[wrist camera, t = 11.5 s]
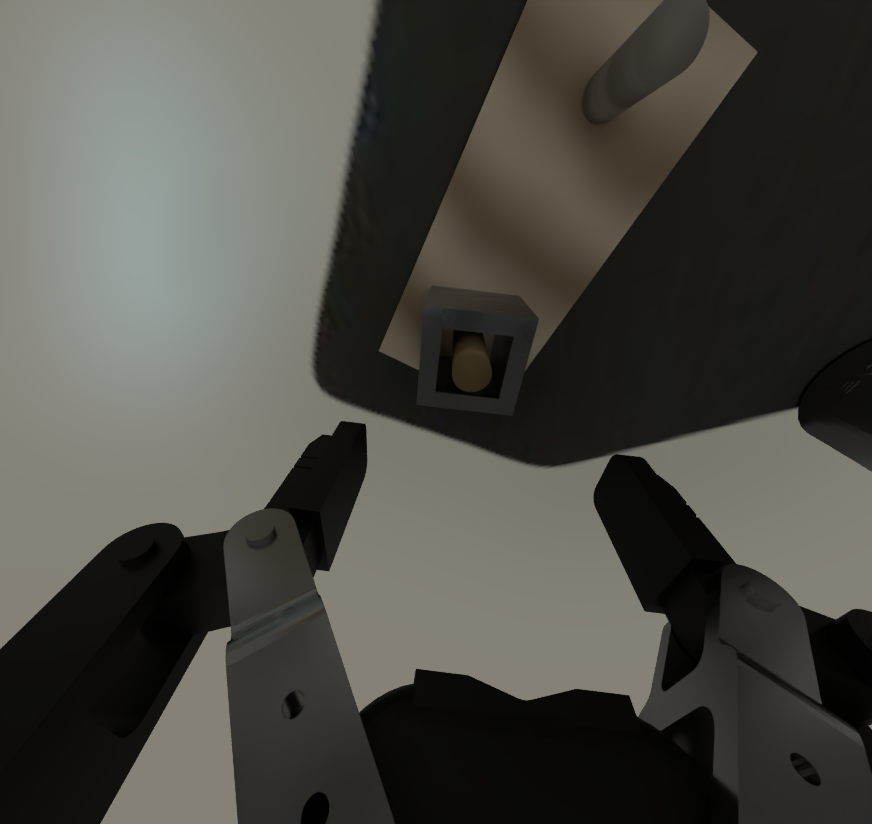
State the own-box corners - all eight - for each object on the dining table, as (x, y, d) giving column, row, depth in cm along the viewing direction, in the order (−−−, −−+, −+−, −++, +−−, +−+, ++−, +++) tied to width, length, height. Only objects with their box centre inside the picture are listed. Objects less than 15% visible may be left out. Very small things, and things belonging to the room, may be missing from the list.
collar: (519, 295, 20) (539, 318, 15) (500, 375, 22) (512, 415, 18) (431, 285, 19) (424, 305, 15) (424, 366, 22) (416, 404, 18)
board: (564, -83, 13) (685, -420, 6) (731, 66, 15) (963, -64, 8) (382, 343, 23) (352, 394, 16) (495, 398, 25) (510, 464, 18)
